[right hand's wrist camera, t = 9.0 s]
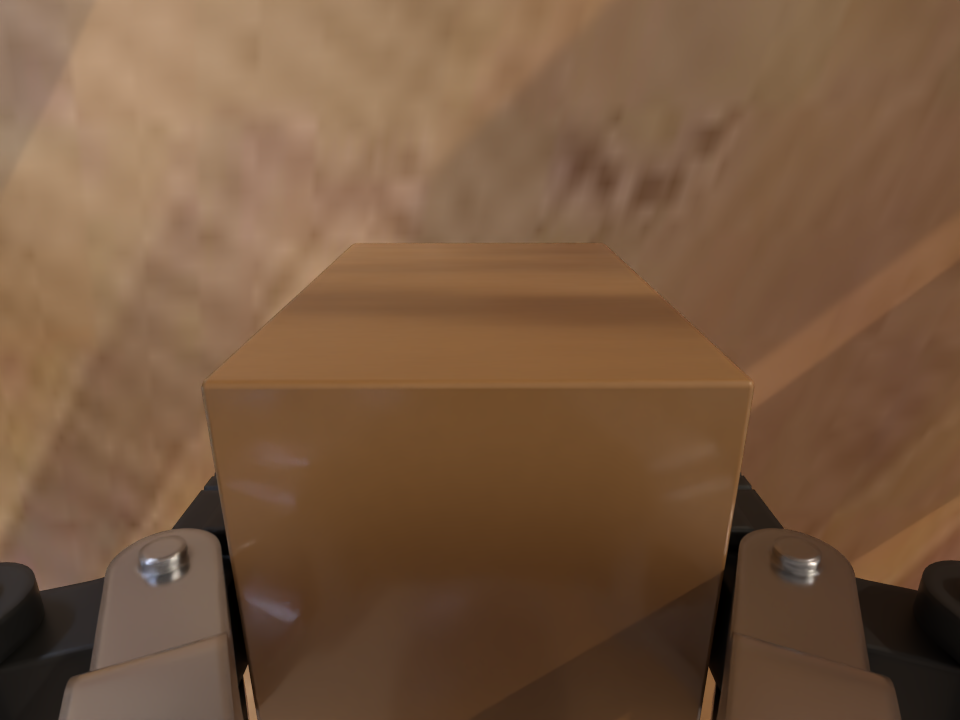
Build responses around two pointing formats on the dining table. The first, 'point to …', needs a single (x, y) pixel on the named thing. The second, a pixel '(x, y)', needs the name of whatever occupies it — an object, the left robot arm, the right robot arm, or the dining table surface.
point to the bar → (478, 489)
